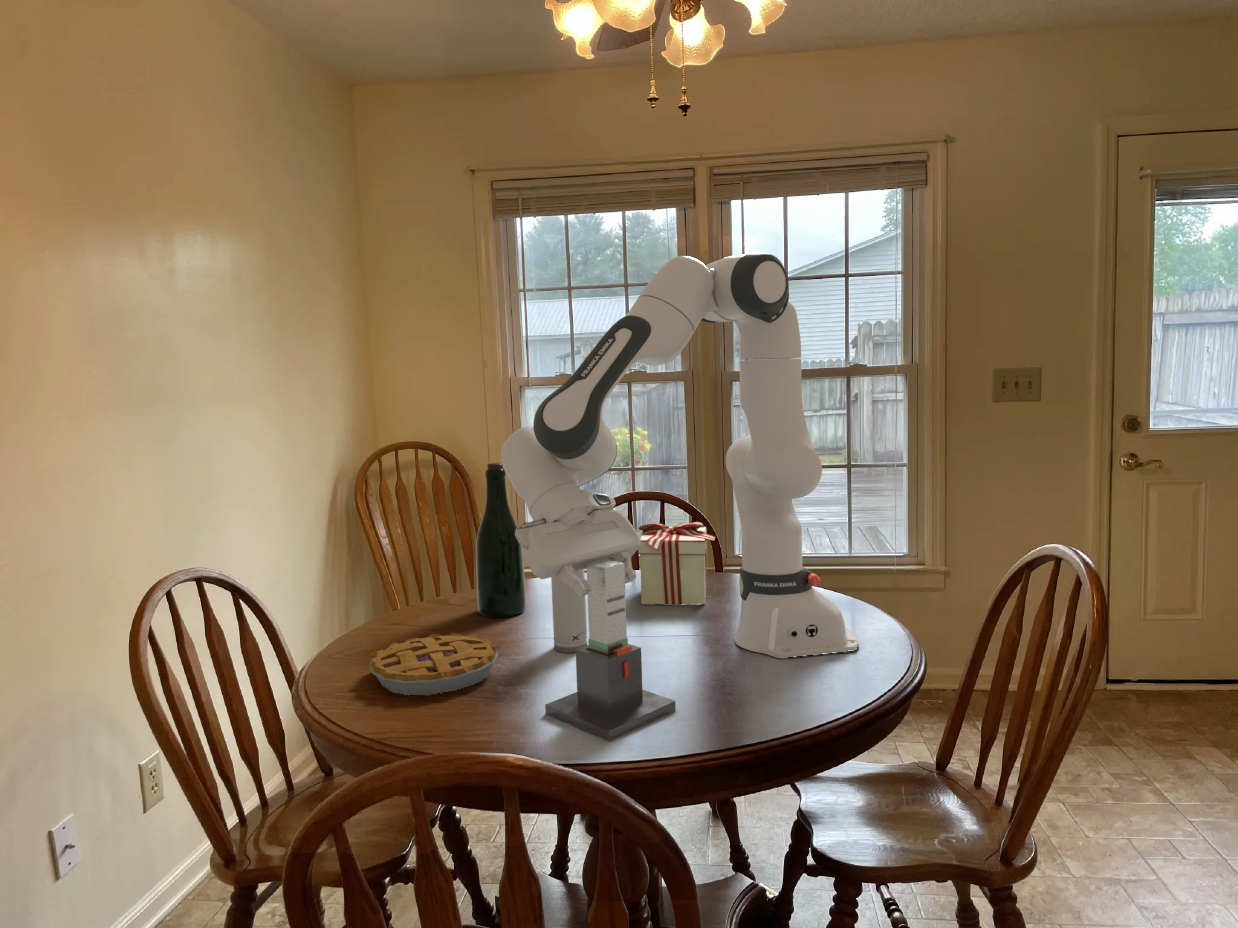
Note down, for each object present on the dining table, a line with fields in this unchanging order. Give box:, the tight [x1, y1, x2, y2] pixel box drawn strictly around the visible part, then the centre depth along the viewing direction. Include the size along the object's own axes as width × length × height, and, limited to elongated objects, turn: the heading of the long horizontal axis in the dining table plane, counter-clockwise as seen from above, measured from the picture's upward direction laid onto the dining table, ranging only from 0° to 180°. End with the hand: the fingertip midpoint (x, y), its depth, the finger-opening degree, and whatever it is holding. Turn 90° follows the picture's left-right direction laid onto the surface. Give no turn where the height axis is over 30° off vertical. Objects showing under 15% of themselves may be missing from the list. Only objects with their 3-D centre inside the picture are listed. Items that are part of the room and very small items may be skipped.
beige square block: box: [586, 560, 629, 657], centre depth 122 cm, size 4×4×17 cm
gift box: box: [638, 521, 716, 606], centre depth 184 cm, size 17×18×17 cm
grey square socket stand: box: [544, 643, 677, 742], centre depth 123 cm, size 14×14×11 cm
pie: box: [369, 632, 499, 697], centre depth 142 cm, size 22×22×5 cm
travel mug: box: [550, 569, 588, 654], centre depth 153 cm, size 6×7×20 cm
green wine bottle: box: [475, 462, 527, 619], centre depth 177 cm, size 10×10×33 cm
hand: (609, 586), depth 121 cm, fingers open, 8 cm apart
